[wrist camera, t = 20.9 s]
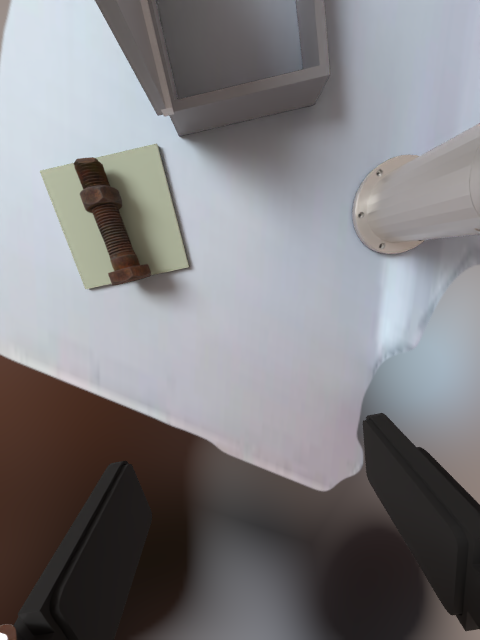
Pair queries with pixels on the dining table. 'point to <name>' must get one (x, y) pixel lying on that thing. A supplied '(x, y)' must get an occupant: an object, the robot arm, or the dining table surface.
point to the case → (228, 103)
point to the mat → (137, 213)
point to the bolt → (109, 221)
